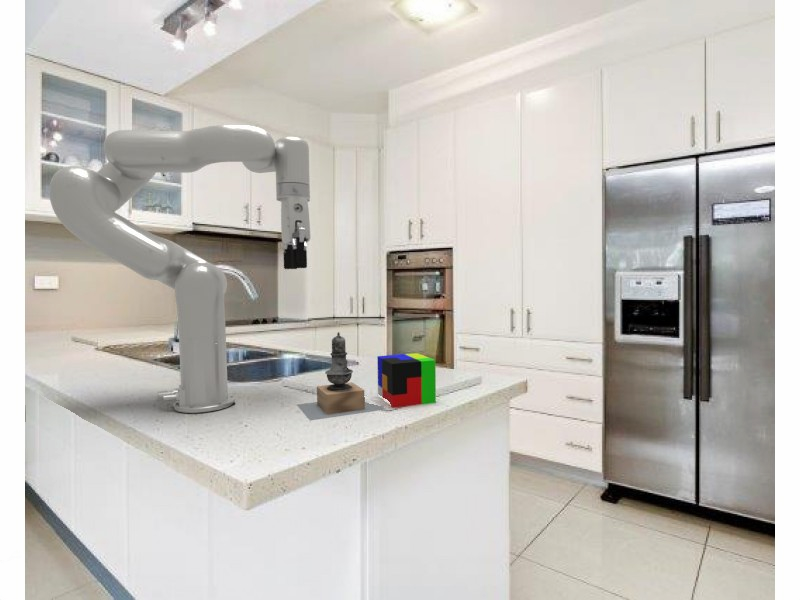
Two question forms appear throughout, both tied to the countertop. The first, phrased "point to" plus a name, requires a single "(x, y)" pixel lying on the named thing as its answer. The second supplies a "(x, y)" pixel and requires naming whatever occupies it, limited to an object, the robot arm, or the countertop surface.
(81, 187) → the robot arm
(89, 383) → the countertop surface
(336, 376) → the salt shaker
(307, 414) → the slate mat
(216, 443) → the countertop surface
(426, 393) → the puzzle toy
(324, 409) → the base block
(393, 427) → the countertop surface
